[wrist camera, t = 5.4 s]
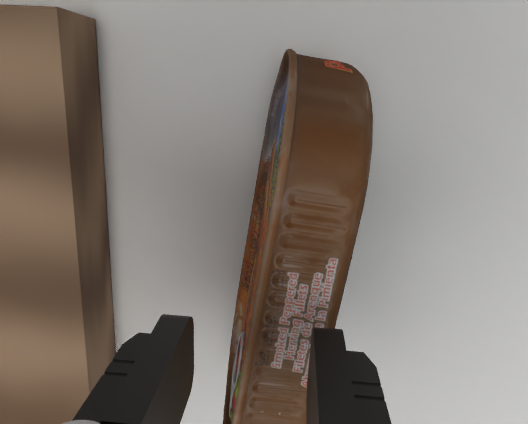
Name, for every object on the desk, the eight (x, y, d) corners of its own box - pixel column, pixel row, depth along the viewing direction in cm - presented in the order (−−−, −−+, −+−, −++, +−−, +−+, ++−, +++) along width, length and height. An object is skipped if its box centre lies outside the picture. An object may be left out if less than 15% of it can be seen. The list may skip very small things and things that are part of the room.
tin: (278, 55, 18) (276, 32, 10) (351, 68, 18) (410, 56, 10) (226, 356, 22) (197, 511, 14) (286, 366, 22) (289, 526, 14)
